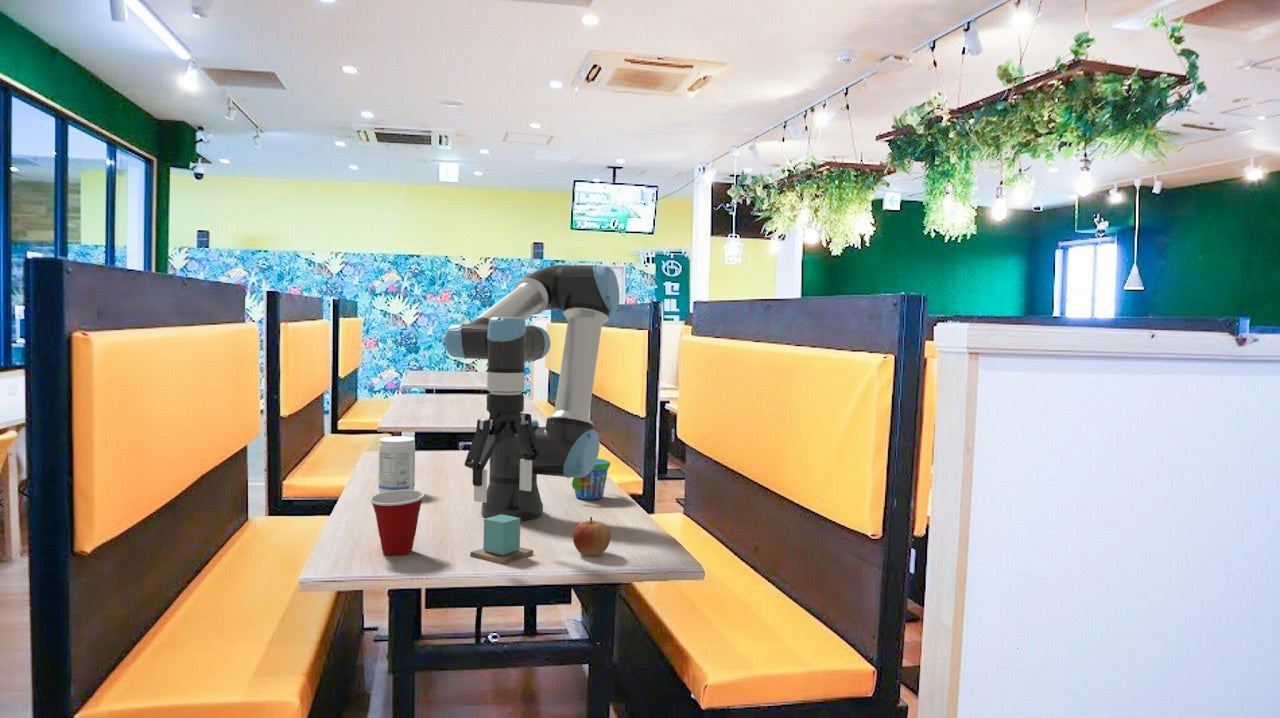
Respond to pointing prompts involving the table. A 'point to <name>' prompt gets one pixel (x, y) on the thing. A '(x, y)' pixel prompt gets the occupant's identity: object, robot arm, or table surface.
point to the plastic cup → (397, 519)
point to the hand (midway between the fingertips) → (503, 496)
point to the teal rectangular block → (501, 534)
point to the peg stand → (501, 558)
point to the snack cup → (592, 482)
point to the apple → (591, 537)
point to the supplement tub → (396, 463)
